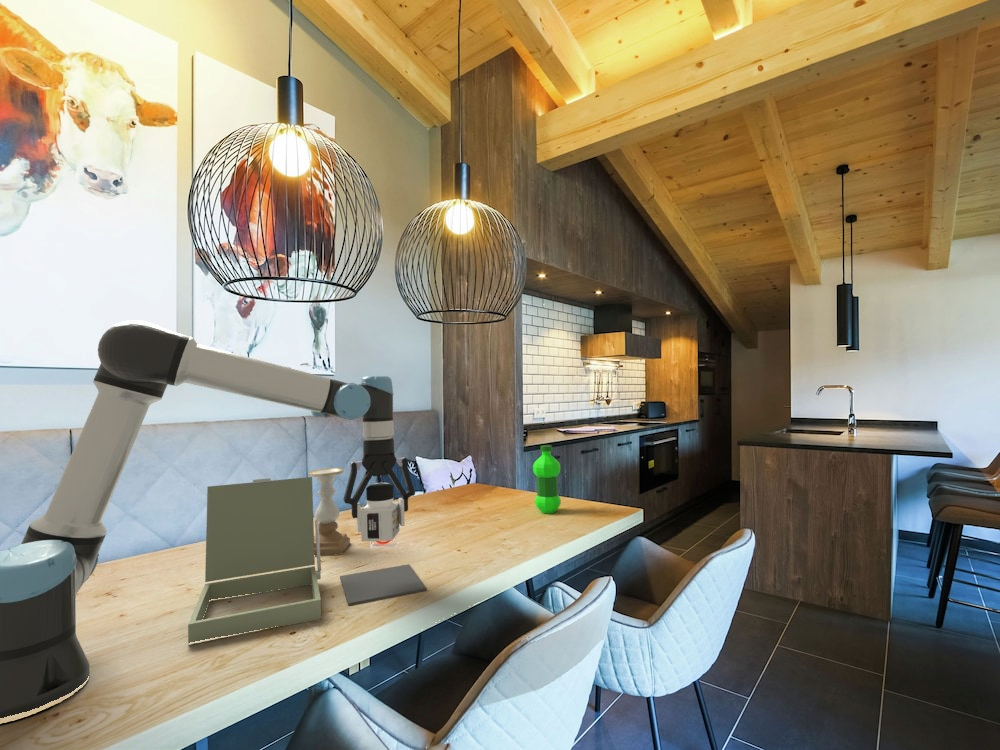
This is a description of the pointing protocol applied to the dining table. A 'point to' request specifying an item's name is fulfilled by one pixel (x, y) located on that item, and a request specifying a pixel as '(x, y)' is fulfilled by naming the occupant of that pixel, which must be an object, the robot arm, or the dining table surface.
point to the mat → (381, 584)
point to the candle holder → (328, 514)
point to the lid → (259, 527)
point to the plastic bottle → (547, 481)
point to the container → (380, 514)
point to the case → (259, 617)
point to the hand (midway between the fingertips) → (380, 527)
